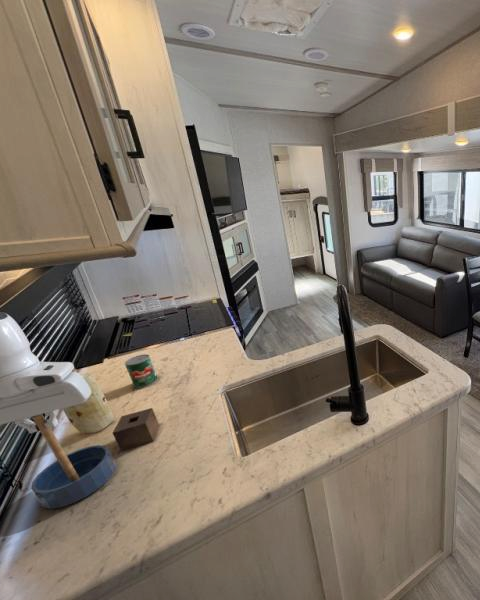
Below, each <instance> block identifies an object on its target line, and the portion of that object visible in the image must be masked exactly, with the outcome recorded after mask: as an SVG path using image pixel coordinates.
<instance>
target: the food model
mask: <svg viewBox="0 0 480 600" xmlns="http://www.w3.org/2000/svg"><path fill="white" fill-rule="evenodd" d="M79 374H80V375H82V377H83V378H84V379H85V381H86V382H87V384H88V385H89V387H90V389H91V395H90V396H89V398H88V399H87V400H86V402H84V403H82V404H78V405H74V406H70V407H67V408H63V409H62V411H63V412H64V414H65V416H66V417H67V419H68V421H69V423H70V424H71V425H72V426H73V427H74V429H76V430H77V431H78V432H79V433H81V434H88V433H93V434H95V433H98V432H101V431H103V430H104V429H105V428H106V427H108V426H109V425H111V423H113V422H114V421H115V416H114V414H113V413H112V409H111V407H110V404H109V402H108V400H107V398H106V396H105V394H104V391H103V389H102V388H101V386H100V385H99V383H98V382H97V379H96V378H95V376H94V374H93V373H89V372H87V373H86V372H85V373H79Z"/></svg>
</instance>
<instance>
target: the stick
mask: <svg viewBox="0 0 480 600" xmlns="http://www.w3.org/2000/svg"><path fill="white" fill-rule="evenodd" d="M31 419H32V420H33V422H34V423H36V425H37V427H38V428H39V430H40V431H39V432H40V433H41V435H42V437H43V438H44V440H45V442H46V443H47V445H48V447H49V449H50V450H51V452H52V453H53V455H54V457H55V458H56V461H57V460H58V462H59V463H60V465H61V467H62V468H63V470H64V472H65V473H66V475H67V477H68V478H69V480H70V482H73V481H76V480H77V479H79V476H78V474H77V473H76V471H75V469H74V467H73V466H72V464H71V462H70V461H69V459H68V457H67V455H68V454H66V451H65V450H64V448H63V447H62V445H61V443H60V442H59V440H58V438H57V437H56V435H55V433H54V431H53V429H52V428H48V429H47V428H46V426H45V425H44V423H45V422H46V420H47V419H46V418H45V416H44V415H43V414H40V415H36V416H32V417H31Z"/></svg>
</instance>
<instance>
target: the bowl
mask: <svg viewBox="0 0 480 600" xmlns="http://www.w3.org/2000/svg"><path fill="white" fill-rule="evenodd" d="M66 455H67V457H68V459H69V461H70V462H71V464H72V466H73V467H74V469H75V471H76V473H77V474H78V476H79V479H77V480H76V481H73V482H70V480H69V478H68V477H67V475H66V473H65V472H64V470H63V468H62V467H61V465H60V463H59V462H58V460H57V459H56V460H55V461H54V462H52V463H51V464H49V465H48V466H46V467H45V468H44V469H43V470H42V471H40V472H39V473H38V474H37V475H36V477H35V478H34V479H33V481H32V482H31V485H30V486H31V487H30V489H31V491H32V493H33V494H34V496H35V497H36V498H37V501H38V502H39V503H40V505H41V506H42V507H43V508H44V509H49V510H50V509H51V510H53V509H59V508H64V507H66V506H69V505H72V504H74V503H76V502H78V501H80V500H82V499H84V498H86V497H88V496H89V495H91V494H93V493H95V492H96V491H97V490H99V489H100V488H101V487H102V486H103V485H104V484H106V483H107V482H108V481H109V480H110V478H111V477H112V476H113V475H114V473H115V472H116V469H117V463H116V460H115V459H114V457H113V454H112V452H111V451H110V449H109V447H107V446H106V445H100V444H97V445H91V446H86V447H83V448H79V449H77V450H75V451H73V452H70V453H67V454H66Z"/></svg>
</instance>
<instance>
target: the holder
mask: <svg viewBox="0 0 480 600" xmlns="http://www.w3.org/2000/svg"><path fill="white" fill-rule="evenodd" d="M159 427H160V423H159V421H158V419H157V416H156V413H155V411H154V409H153V407H150V408H147V409H143V410H140V411H137V412H133V413H128V414H126V415H121V416H120V418H119V420H118V422H117V424H116V425H115V427H114V430H112V436H113V437H114V439H115V441H116V444H117V446H118V447H119V449H120V452H123V451H126V450H129V449H132V448H136V447H139V446H141V445H146V444H148V443H151V442H154V440H155V437H156V435H157V432H158V430H159Z"/></svg>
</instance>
